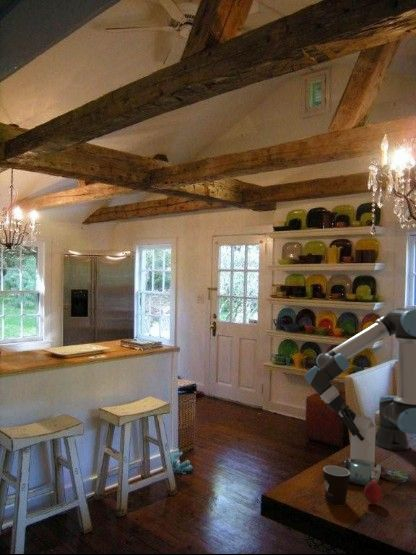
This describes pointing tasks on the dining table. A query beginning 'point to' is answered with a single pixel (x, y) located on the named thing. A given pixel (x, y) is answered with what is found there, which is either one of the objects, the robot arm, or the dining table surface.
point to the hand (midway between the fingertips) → (370, 443)
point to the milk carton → (368, 430)
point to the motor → (362, 471)
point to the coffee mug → (336, 484)
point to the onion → (373, 492)
